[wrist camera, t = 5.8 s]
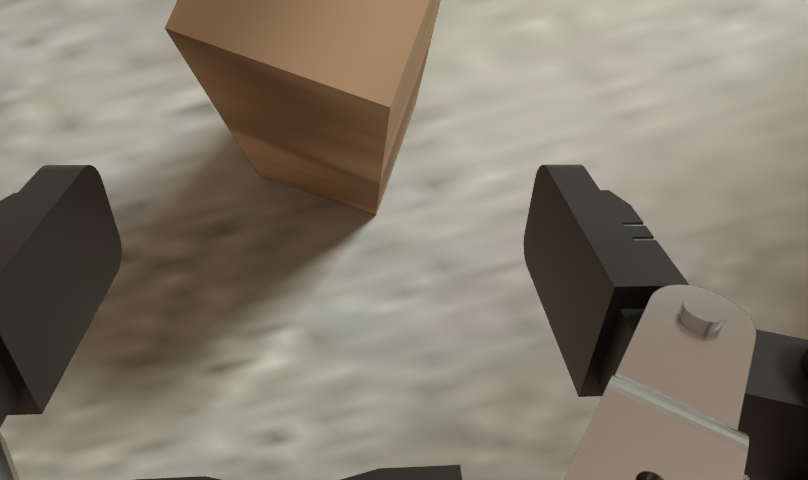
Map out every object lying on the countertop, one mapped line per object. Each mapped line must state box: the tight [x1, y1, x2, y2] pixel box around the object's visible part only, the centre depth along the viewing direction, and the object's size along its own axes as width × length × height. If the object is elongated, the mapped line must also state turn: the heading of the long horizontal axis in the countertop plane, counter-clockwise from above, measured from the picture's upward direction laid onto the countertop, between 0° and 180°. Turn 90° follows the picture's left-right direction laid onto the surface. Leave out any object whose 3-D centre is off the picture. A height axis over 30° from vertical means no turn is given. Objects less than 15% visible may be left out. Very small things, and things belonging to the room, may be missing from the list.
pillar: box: [165, 0, 440, 215], centre depth 16 cm, size 4×4×10 cm
